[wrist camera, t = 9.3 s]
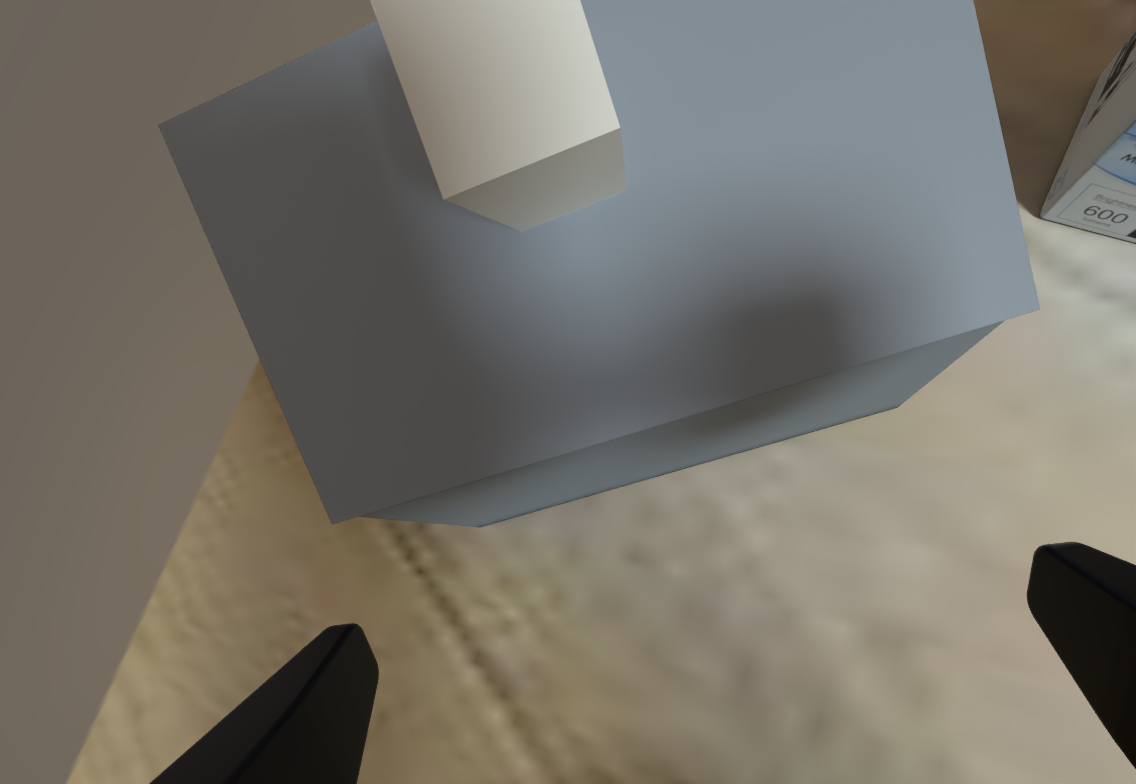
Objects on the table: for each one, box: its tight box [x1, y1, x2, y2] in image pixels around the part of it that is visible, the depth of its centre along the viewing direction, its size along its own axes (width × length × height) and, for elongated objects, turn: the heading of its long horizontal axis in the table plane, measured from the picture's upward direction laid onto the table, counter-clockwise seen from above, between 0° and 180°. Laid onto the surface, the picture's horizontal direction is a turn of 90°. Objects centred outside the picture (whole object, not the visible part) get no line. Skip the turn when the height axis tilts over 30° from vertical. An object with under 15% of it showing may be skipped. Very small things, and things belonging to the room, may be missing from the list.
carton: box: [359, 320, 1005, 527], centre depth 19 cm, size 10×16×8 cm, turn 104°
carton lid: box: [158, 0, 1040, 524], centre depth 10 cm, size 10×16×6 cm, turn 104°
